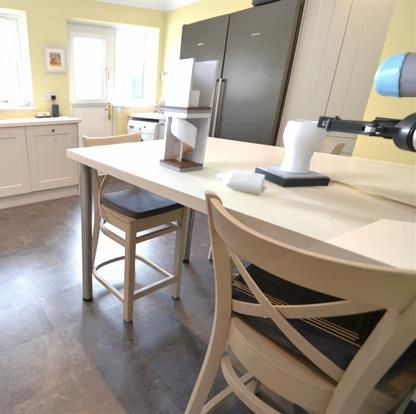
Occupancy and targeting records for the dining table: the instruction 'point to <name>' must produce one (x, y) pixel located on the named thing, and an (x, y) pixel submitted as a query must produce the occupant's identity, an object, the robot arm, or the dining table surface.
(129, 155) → the dining table surface
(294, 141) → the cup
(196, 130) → the white wooden shelf unit
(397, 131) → the robot arm
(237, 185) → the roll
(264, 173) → the scale
